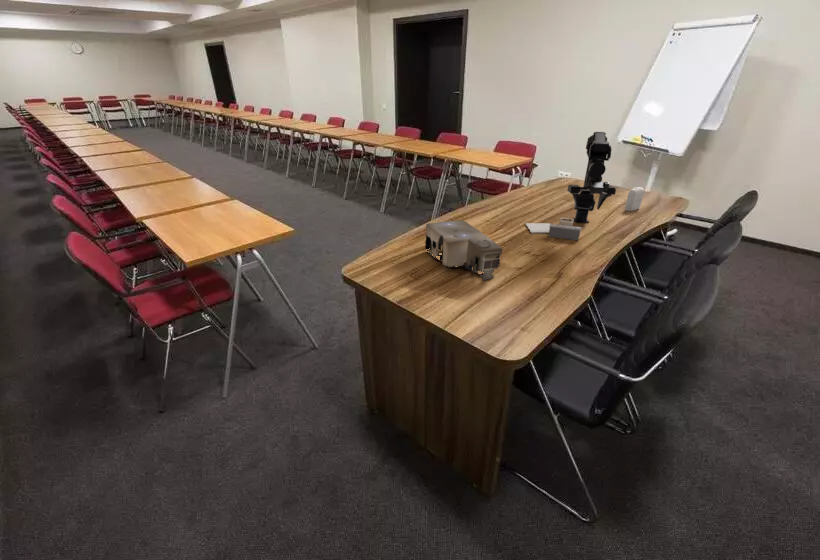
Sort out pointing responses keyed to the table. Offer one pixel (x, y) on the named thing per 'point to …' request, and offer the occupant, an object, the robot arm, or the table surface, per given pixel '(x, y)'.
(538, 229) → the mat
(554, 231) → the screen
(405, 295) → the table surface
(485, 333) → the table surface
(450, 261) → the projector
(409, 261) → the table surface
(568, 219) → the letter cube
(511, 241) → the table surface
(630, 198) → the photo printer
